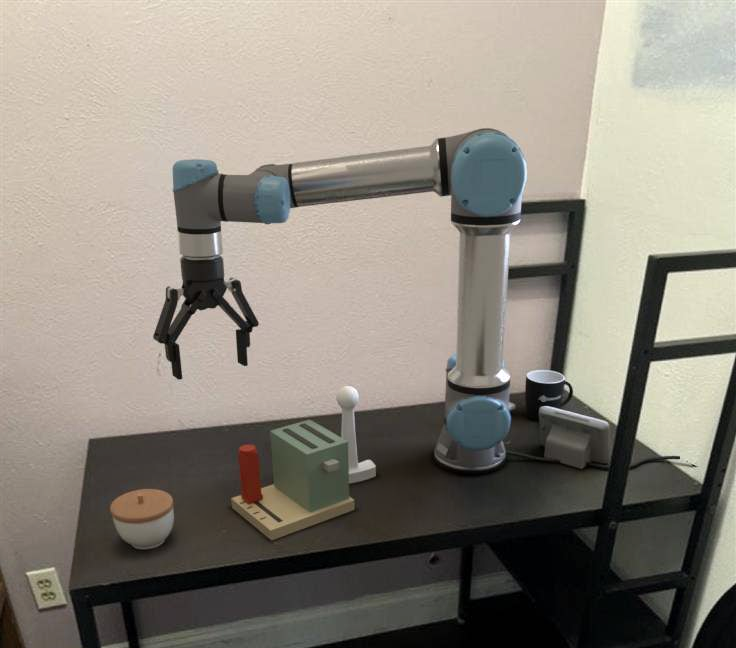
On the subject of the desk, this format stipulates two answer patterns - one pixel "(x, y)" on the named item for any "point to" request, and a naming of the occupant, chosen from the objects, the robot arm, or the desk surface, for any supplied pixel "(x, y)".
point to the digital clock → (574, 437)
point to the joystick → (353, 436)
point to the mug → (544, 391)
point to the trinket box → (143, 517)
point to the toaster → (301, 481)
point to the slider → (249, 474)
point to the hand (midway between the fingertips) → (210, 370)
